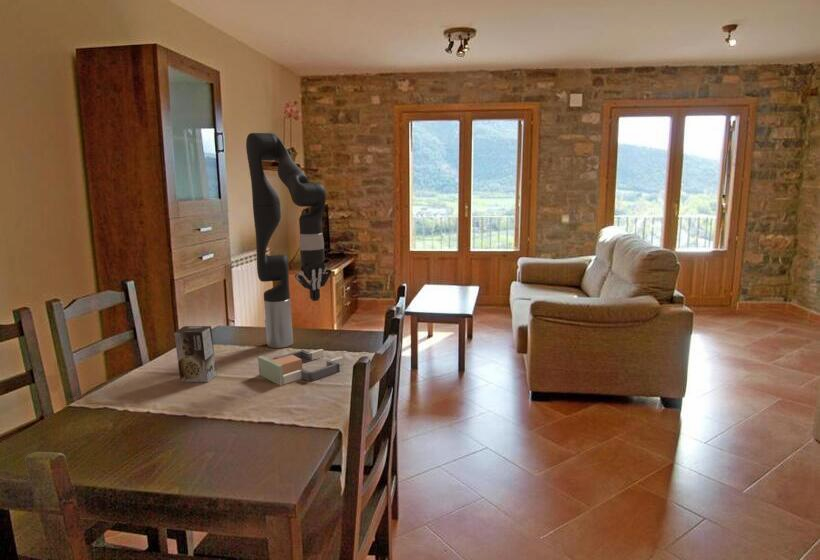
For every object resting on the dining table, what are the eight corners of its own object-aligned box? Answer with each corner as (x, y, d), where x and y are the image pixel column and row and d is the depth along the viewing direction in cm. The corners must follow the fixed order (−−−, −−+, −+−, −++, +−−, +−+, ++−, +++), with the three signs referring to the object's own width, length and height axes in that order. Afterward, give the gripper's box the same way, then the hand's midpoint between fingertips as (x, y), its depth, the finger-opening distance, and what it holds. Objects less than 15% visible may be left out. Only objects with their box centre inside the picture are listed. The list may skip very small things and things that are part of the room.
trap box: (253, 371, 170) (251, 354, 168) (315, 353, 186) (314, 336, 185) (287, 389, 155) (286, 369, 154) (351, 367, 171) (350, 349, 170)
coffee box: (217, 374, 168) (212, 325, 165) (207, 382, 162) (202, 331, 158) (189, 374, 169) (184, 325, 166) (179, 382, 163) (173, 331, 159)
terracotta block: (270, 374, 168) (269, 360, 167) (293, 367, 173) (292, 354, 172) (279, 379, 163) (278, 365, 163) (302, 372, 169) (301, 359, 168)
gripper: (322, 243, 175) (325, 295, 179) (287, 248, 166) (291, 302, 170) (336, 246, 170) (338, 298, 174) (300, 251, 161) (304, 306, 165)
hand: (315, 300), depth 172 cm, fingers closed
